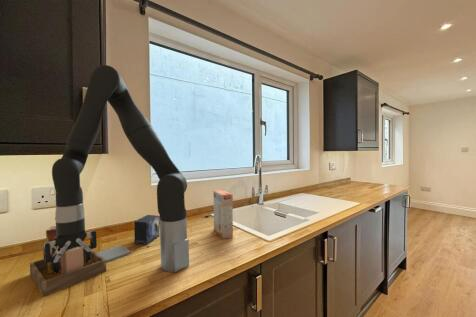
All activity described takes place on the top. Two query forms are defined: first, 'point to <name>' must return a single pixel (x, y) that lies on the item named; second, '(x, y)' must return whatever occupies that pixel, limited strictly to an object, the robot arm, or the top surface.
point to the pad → (114, 253)
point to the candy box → (51, 237)
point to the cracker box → (223, 213)
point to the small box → (146, 229)
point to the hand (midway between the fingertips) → (72, 267)
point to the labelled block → (72, 259)
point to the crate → (66, 274)
